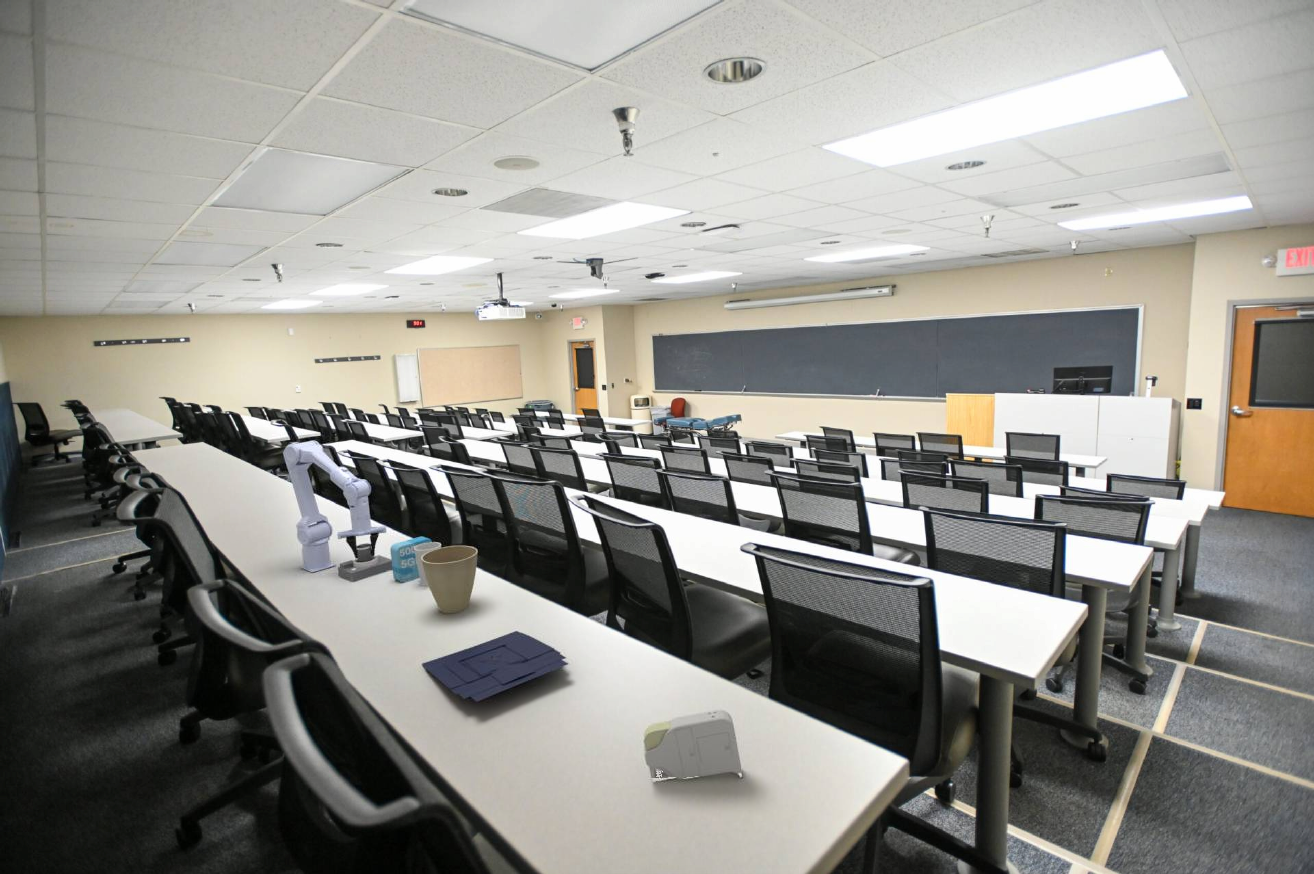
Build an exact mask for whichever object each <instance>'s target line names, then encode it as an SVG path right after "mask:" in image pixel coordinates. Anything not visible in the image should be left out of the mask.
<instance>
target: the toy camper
mask: <svg viewBox="0 0 1314 874" xmlns="http://www.w3.org/2000/svg"><path fill="white" fill-rule="evenodd" d="M643 734H644V735H643V737H644V738H643V745H644V747H643V749H644V751H643V753H644V759H645V764H646V766H648V768H649V774H650V778H659V777H656V776H657V774H656V773H657V772H656V771H657V770H658V771H661V774H662V777H661V776H660V778H668V777H676V778H677V779H679V778H687V777H695V776H702V777H706V776H705V775H708V776H712V775H719V774H724V773H730V772H732V773H735V774H737V773H742V774H743V770H742V764H741V759H740V754H739V748H738V742H737V737H736V731H735V727H734V722H733V718H732V716H731V714H730V713H729V712H728V711H726V710H723V709H717V710H712V711H711V710H710V711H705V712H699V713H694V714H689V715H688V714H687V715H683V716H678V717H674V718H672V719H670V720H668V721H661V722H657V723H652V724H650V725H649V726H647V727H646V729H645V730H644V733H643ZM662 771H663V772H662ZM659 773H660V772H659ZM661 774H659V775H661Z"/></svg>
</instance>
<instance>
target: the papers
mask: <svg viewBox="0 0 1314 874" xmlns="http://www.w3.org/2000/svg"><path fill="white" fill-rule="evenodd" d="M566 659H567V657H566V656H564V655H563V654H562V653H561V651H558V649H557V650H556V649H555V647H552V646H550V645H548V644H546V643H545V642H542V641H540V640H538V639H537V638H535V637H533V636H530V635H529V634H526V633H523V632H520V631H519V630H516V631H513V632H510V633H507V634H504V635H501V636H498V637H495V638H494V639H491V640H487V641H485V642H482V643H480V644H476V645H474V646H471V647H468V648H466V649H465V648H464V649H462V650H459V651H457V652H456V651H455V652H453V653H450V654H447V655H444V656H441V657H437V658H435V659H433V660H432V659H431V660H429V661H426V662H423V663H421V665H422V666H423V667H424V669H426V670H427V671H428V673H431V674H432V675H433V676H434V677H435V678H437V679H438V680H439V681H440V683H442V684H443V685H445V686H446V688H448V689H449V690H450V691H451V692H452V693H453V694H455V695H457V694H458V695H459V696H460V697H462V698H463V699H467V698H469V697H470V698H471V699H473V700H474V701H475V702H480V701H482V700H485V699H487V698H489V697H491V696H494V695H496V694H499V693H501V692H503V691H506V690H509V689H510V688H513V687H516V686H517V685H520V684H522V683H525V682H527V681H530V680H533V679H535V678H537V677H540V676H543V675H545V674H549V673H550V672H552V671H556V670H558V669H560V668H563V667H565V666H568V665H570V663H568V662H567V661H565V660H566Z"/></svg>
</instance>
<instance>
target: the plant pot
mask: <svg viewBox="0 0 1314 874" xmlns="http://www.w3.org/2000/svg"><path fill="white" fill-rule="evenodd" d="M421 560H422V564H423V568H424V572H425V576H426V579H427V582H428V585H429V586H428V588H429V589H430V592H431V594H432V597H433V599H434V601H435V603H436V606H437V607H438V608H439V610H440V612H441V613H443V614H456V613H460V612H463V611H464V610H466V609H467V608H468V606H469V603H470V600H471V596H472V592H473V589H474V584H475V580H476V579H475V578H476V575H477V574H476V572H477V564H478V549H477V548H476V547H474V546H469V545H450V546H444V547H441V548H439V549H435V550H432V551H430V552H427V553H425V554H424V555H423V556H422V557H421Z"/></svg>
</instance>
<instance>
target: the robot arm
mask: <svg viewBox="0 0 1314 874" xmlns="http://www.w3.org/2000/svg"><path fill="white" fill-rule="evenodd" d="M282 455H283V458H284V461H285V462H284V463H285V464H286V468H287V471H288V474H289V478H290V481H291V484H292V487H293V491H294V495H295V498H296V501H297V505H298V509H299V512H300V516H301V519H300V520H299V521H298V522H297V524H296V525H295V526H296V538H297V540H298V542H299V543H300V544H301V545H302V548H301V553H302V554H301V555H302V561H303V565H301V566H300V568H301V569H304V570H306V571H308V572H310V573H316V572H319V571H322V570H325V569H329V568H333V567H336V566H337V564H336V563H334V562H331V561H332V560H331V554H330V553H331V552H330V546H329V545H330V544H329V540H331V536H332V535H333V531H334V530H333V525H332V524H331V523H330V522H329V520H328V517H327V516H326V515H324V514H322V513H320V510H319V507H318V503H317V500H316V496H315V493H314V490H313V486H312V482H311V479H310V475H309V472H308V469H309V468H310V466H311V465H312V464H313V463H314V464H315V465H316V466H317V467H319V468H321V469H322V470H324V471H325V472H326V473H328V474H329V476H330V477H329V480H330V481H332V482H333V483H334V484H335V485H336V486H337V487H338V488H340V489H341V490H342V494H343V496H344V498H345V499H346V501H347V503H346V504H347V505H348V507H349V512H350V513H349V514H350V522H351V529H349V530H348V529H347V530H344V531H338V532H337V534H336V536H337V540H342V539H345V542H346V544H347V545H348V546H349V547H350V549H351V550H352V553H353V555H354V558H355V559H357V558H358V557H357V549H356V546H358V545H357V537H361V536H369V535H370V536H369V541H370V544H371V550H372V556H376V555H375V553H376V552H375V550H376V546H377V545H376V544H377V541H378V537H379V536H380V534H387V526H386V525H383V526H372V522H371V514H370V505H369V504H370V503H369V497H368V496H370V494H371V492H372V486H371V484H370V482H368V480H366V479H361V478H358V477H357V476H356V475H354V474H353V473H352V472H351V471H349V469H348V468H347V467H345V466H338V465H337V464H336V463H335V462H334V461H333V459H331V458H330V457H329V456H328V455H327V454H326V453H325V452H324V447H323V445H321V444H320V443H319V442H318V441H316V440H309V441H304V442H299V443H292V444H288V445H286V447H285V449H284V450H283V452H282ZM355 559H354V560H355Z"/></svg>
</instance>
